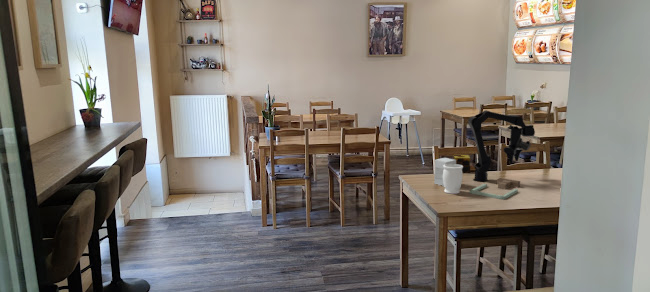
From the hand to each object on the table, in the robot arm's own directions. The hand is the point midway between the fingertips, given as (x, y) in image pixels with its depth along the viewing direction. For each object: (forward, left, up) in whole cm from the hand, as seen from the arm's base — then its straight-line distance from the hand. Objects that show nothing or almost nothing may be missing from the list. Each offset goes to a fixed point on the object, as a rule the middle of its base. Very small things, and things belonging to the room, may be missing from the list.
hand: (513, 162), depth 288 cm
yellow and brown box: (-34, +1, -11) cm, 36 cm away
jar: (-15, -48, -11) cm, 51 cm away
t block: (+3, -18, -11) cm, 21 cm away
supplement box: (-26, -36, -11) cm, 46 cm away
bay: (+3, -34, -11) cm, 36 cm away
